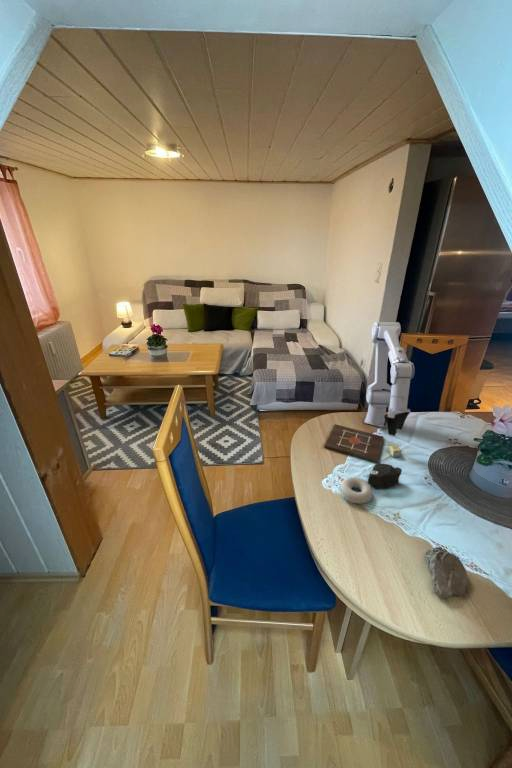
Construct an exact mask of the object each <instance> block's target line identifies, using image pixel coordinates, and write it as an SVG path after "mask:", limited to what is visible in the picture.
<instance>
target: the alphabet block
mask: <svg viewBox="0 0 512 768" xmlns="http://www.w3.org/2000/svg"><path fill="white" fill-rule="evenodd" d="M388 453H389V454H390V456H391V457H392V458H397V457H401V455H402V449H401V448H400V447H399V445H397V444H395V445H389V449H388Z"/></svg>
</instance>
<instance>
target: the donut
mask: <svg viewBox="0 0 512 768" xmlns="http://www.w3.org/2000/svg"><path fill="white" fill-rule="evenodd" d="M353 488H355V489H359V490H360V491H358V492H357V491H355V490H353ZM372 488H373V487H372V486H371V485H369V484H368V481H366V480H364V479H363V478H361V477H356V476H350V477H347V478H345V479H343V480H342V482H341V484H340V492H341V495H342V496H343V497H344V498H345V499H346V500H348V501H349V502H351V503H354V504H359V505H361V504H366V503H368V502H369V501H371V500H372V497H373V489H372Z"/></svg>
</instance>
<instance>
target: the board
mask: <svg viewBox="0 0 512 768" xmlns="http://www.w3.org/2000/svg"><path fill="white" fill-rule="evenodd" d="M383 440H384V436H382V435H379V434H375V433H371V432H367V431H363V430H359V429H356V428H351V427H347V426H345V425H344V426H343V425H339V424H336V423H335V424H334V425H333V427H332V430H331V432H330V434H329V436H328V437H327V440H326V442H325V444H324V448H325V449H328V450H332V451H335V452H339V453H342V454H346V455H348V456H352V457H355V458H359V459H362V460H366V461H369V462H373V463H376V464H379V463H378V462H379V458H380V453H381V450H382V445H383Z"/></svg>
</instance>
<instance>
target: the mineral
mask: <svg viewBox="0 0 512 768" xmlns="http://www.w3.org/2000/svg"><path fill="white" fill-rule="evenodd" d="M402 473H403V469H402V468H400V467H398V466H397V467H395V466H393V465H392V464H389V463H388V464H387V463H376V464H374V466H373V467H372V469H371V471H370V473H369V475H368V478H367V483H368V484H369V485H370V486H371V488H373V489H375V490H381V489H382V490H383V489H390V488H392V487H395V486H396V485H398V484H399V482H400V477H401V475H402Z"/></svg>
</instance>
